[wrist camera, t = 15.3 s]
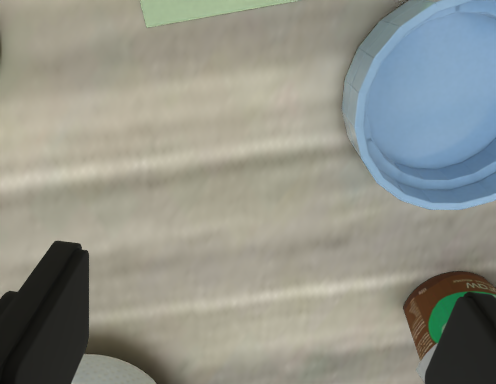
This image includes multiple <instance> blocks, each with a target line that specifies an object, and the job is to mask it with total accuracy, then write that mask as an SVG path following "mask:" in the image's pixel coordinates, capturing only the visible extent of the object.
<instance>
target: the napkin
mask: <svg viewBox="0 0 496 384" xmlns="http://www.w3.org/2000/svg"><path fill="white" fill-rule="evenodd" d="M294 1H300V0H140V3H141V7H142V11H143V15H144V19H145V23H146V27H147V28H149V27H154V26H160V25H165V24H171V23H177V22H182V21H188V20H193V19H199V18H205V17H210V16H216V15H221V14H227V13H233V12H238V11H244V10H249V9H255V8H261V7H266V6H272V5H277V4H283V3H289V2H294Z"/></svg>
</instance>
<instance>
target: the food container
mask: <svg viewBox="0 0 496 384" xmlns="http://www.w3.org/2000/svg"><path fill="white" fill-rule="evenodd" d="M467 292H476V293H484V294H490V295H493V296H494V297H495V298H496V288H495V287H494V286H493V285H492V284H490V283H489V282H488V281H487V280H486V279H485V278H484V277H482V276H479V275H477V274H474V273H471V272H463V271H456V272H448V273H444V274H440V275H438V276H435V277H433V278H431V279H429V280H427V281H425V282H424V283H422V284H421V285H420V286H419V287H417V288H416V289H415V290H414V291H413V292H412V293H411V295H410V296H409V297H408V299H407V300H406V302H405V305H404V307H403V309H404V312H405V315H406V318H407V321H408V324H409V328H410V331H411V334H412V337H413V340H414V343H415V346H416V349H417V352H418V355H419V358H420V363H419V365H418V367H417V369H416V371H417V373H418V374H419V376H420V377H421V379H422V380H423V382H424V383H425V372H426V369H427V367H428V365H429V362H430V360H431V358H432V356H433V353H434V351H435V349H436V346H437V344H438V342H439V339H440V337H441V335H442V333H443V330H444V328H445V326H446V323H447V321H448V319H449V317H450V314H451V312H452V310H453V307H454V305H455V303H456V301H457V299H458V298H459V297H463V296H464V294H466V293H467Z"/></svg>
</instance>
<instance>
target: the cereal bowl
mask: <svg viewBox="0 0 496 384" xmlns="http://www.w3.org/2000/svg"><path fill="white" fill-rule="evenodd" d="M71 384H157V383H156V382H155V381H154V380H153V379H152V378H150V376H149V375H148V374H146V373H144V372H143V371H142V370H140V369H139V368H137V367H136V366H133V365H132V364H130V363H128V362H125V361H122V360H120V359H117V358H112V357H109V356H103V355H95V354H84V355H83V357H82V359H81V362H80V364H79V366H78V369H77V371H76V373H75V376H74V378H73V380H72V383H71Z"/></svg>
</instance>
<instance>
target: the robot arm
mask: <svg viewBox="0 0 496 384" xmlns="http://www.w3.org/2000/svg"><path fill="white" fill-rule="evenodd" d="M88 338H89V253H88V251H87V250H82V247H81V244H79V243H72V242H63V241H55V242H54V243H53V244H52V245H51V247H50V248H49V250H48V251H47V252H46V254H45V255H44V257H43V258H42V259H41V261H40V262H39V263H38V265H37V266H36V268H35V269H34V270H33V272H32V273H31V275H30V276H29V277H28V279H27V280H26V281H25V283H24V284H23V286H22V287H21V288H20V290H19V291H18V292H14V291H9V292H7V293H5V294H4V295H3V296H2V297H1V299H0V384H71V383H72V380H73V378H74V376H75V373H76V371H77V369H78V366H79V364H80V362H81V359H82V357H83V355H84V353H85V350H86V347H87V343H88ZM425 384H496V298H495V297H494V296H493V295H490V294H484V293H476V292H467V293H466V294H464V296H463V297H459V298H458V299H457V301H456V303H455V305H454V307H453V310H452V312H451V314H450V317H449V319H448V321H447V323H446V326H445V328H444V330H443V333H442V335H441V337H440V339H439V342H438V344H437V346H436V349H435V351H434V353H433V356H432V358H431V360H430V362H429V365H428V367H427V369H426V372H425Z"/></svg>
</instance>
